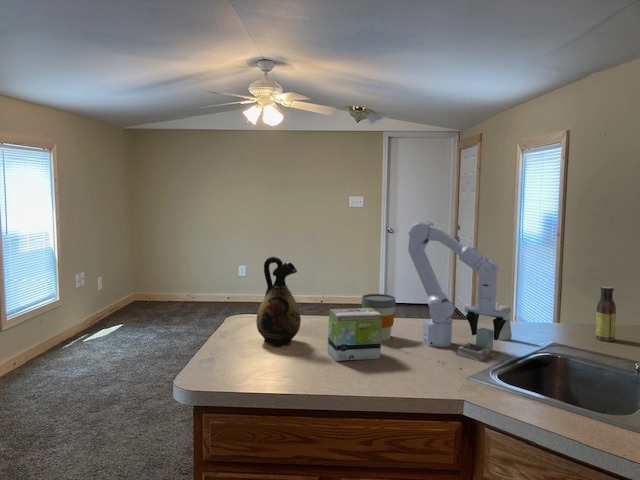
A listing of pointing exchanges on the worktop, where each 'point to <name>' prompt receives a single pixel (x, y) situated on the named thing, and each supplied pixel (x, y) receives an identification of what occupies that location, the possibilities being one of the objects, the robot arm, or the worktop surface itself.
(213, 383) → the worktop surface
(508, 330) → the salt shaker
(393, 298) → the reusable coffee cup
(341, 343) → the tea box
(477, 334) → the peg
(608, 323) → the sauce bottle
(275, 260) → the ceramic jug
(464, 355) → the board
